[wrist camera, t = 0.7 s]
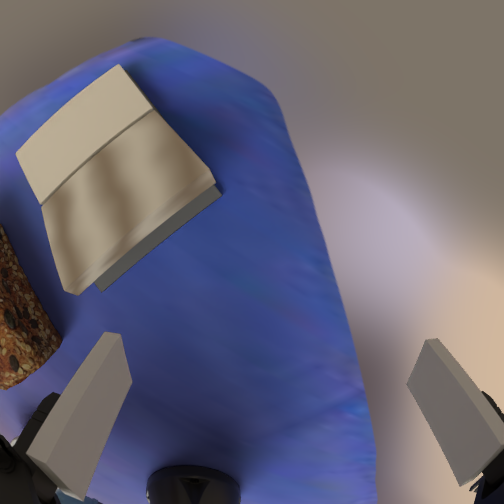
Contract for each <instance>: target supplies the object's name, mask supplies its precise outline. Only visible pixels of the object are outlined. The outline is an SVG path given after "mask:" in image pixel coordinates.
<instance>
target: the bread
mask: <svg viewBox="0 0 504 504" xmlns="http://www.w3.org/2000/svg"><path fill="white" fill-rule="evenodd" d="M61 343H62V339H61V336H60V335H59V333H58V331H57V330H56V329H55V328H54V326H53V324H52V323H51V321H50V320H49V317H48V315H47V313H46V312H45V311H44V310H43V308H42V305H41V303H40V301H39V299H38V297H37V296H36V295H35V292H34V291H33V290H32V287H31V285H30V283H29V282H28V279H27V277H26V275H25V274H24V271H23V269H22V267H21V266H20V265H19V263H18V258H17V256H16V254H15V252H14V250H13V247H12V245H11V243H10V242H9V239H8V237H7V235H6V234H5V232H4V231H3V226H2V225H1V224H0V389H2V390H7V389H8V388H10V387H13V386H15V385H17V384H19V383H21V382H22V381H23V380H25V379H26V378H27V377H28V376H29V375H30V374H32V373H34V372H35V371H36V370H37V369H39V368H40V367H41V366H42V365H43V364H45V362H46V361H47V360H48V359H49V358H50V357H51V356H52V355H53V354H54V353H55V352H56V350H57V349H58V348H59V347H60V345H61Z"/></svg>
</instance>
